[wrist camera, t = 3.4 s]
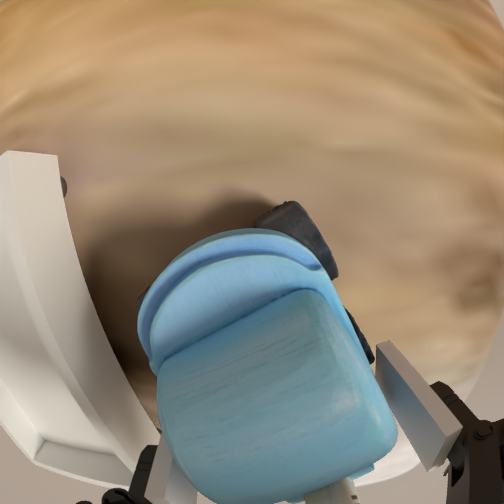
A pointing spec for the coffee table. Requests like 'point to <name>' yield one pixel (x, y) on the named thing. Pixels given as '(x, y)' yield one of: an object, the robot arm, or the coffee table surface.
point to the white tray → (58, 340)
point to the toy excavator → (263, 367)
